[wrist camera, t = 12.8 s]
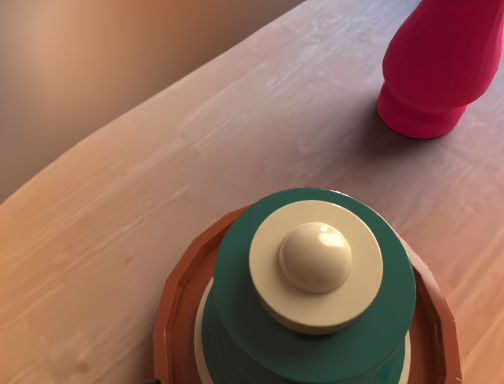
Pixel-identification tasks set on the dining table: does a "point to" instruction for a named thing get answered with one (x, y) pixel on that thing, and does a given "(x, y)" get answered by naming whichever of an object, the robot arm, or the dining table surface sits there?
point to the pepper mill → (440, 64)
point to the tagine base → (201, 272)
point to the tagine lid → (307, 296)
